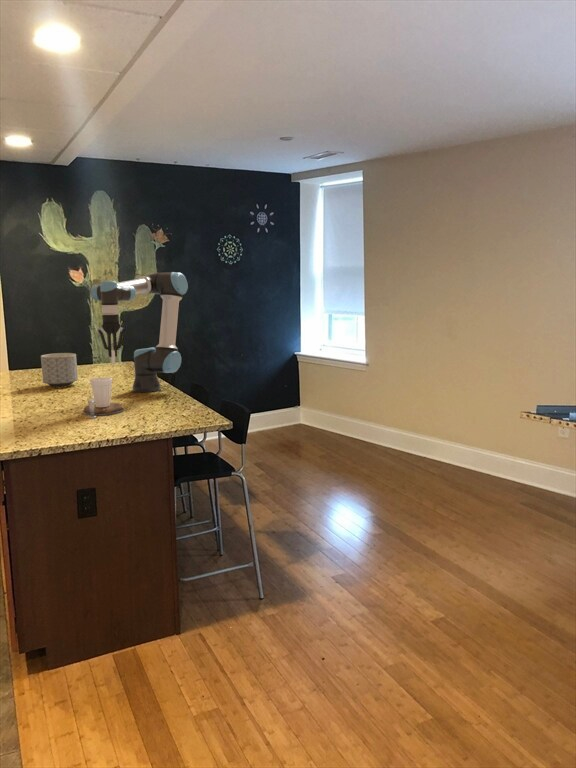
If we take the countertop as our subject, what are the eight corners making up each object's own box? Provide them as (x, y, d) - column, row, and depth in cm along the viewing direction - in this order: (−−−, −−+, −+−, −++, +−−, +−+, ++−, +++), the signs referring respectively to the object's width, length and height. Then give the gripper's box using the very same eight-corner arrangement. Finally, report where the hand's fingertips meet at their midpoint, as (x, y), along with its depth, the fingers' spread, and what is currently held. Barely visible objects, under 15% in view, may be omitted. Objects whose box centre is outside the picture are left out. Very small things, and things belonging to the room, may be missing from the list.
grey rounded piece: (96, 416, 272) (95, 397, 271) (97, 418, 269) (95, 398, 267) (88, 417, 271) (87, 397, 269) (88, 418, 268) (87, 399, 266)
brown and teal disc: (120, 403, 296) (119, 394, 296) (123, 411, 276) (123, 402, 276) (83, 405, 291) (83, 397, 290) (84, 415, 271) (83, 405, 270)
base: (122, 406, 293) (121, 404, 293) (124, 413, 276) (124, 412, 276) (82, 409, 287) (82, 407, 287) (83, 417, 270) (83, 415, 270)
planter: (85, 384, 355) (83, 354, 352) (57, 390, 339) (55, 357, 336) (64, 382, 365) (61, 352, 362) (36, 387, 349) (33, 355, 346)
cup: (118, 405, 284) (116, 377, 282) (105, 409, 275) (103, 381, 273) (100, 404, 288) (98, 376, 285) (87, 408, 278) (85, 380, 276)
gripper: (122, 313, 293) (125, 361, 297) (94, 314, 287) (97, 363, 291) (126, 313, 287) (128, 363, 290) (97, 314, 281) (100, 365, 284)
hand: (113, 363), depth 291 cm, fingers closed
